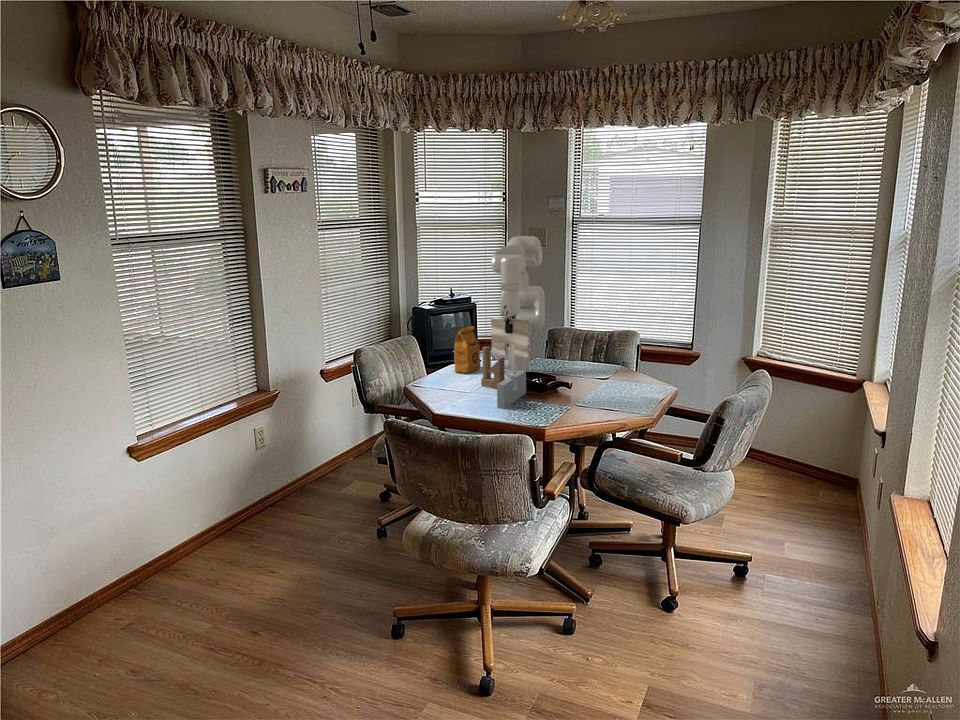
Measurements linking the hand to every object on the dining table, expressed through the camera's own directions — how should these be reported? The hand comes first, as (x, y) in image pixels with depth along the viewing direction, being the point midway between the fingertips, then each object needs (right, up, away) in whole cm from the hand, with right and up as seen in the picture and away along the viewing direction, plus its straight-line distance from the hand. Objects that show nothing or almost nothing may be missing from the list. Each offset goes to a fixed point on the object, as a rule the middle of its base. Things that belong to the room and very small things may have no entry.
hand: (510, 331), depth 275 cm
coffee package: (-19, -17, +56) cm, 61 cm away
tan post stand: (-7, -24, +27) cm, 37 cm away
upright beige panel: (0, -9, +2) cm, 10 cm away
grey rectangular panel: (+1, -28, +7) cm, 29 cm away
